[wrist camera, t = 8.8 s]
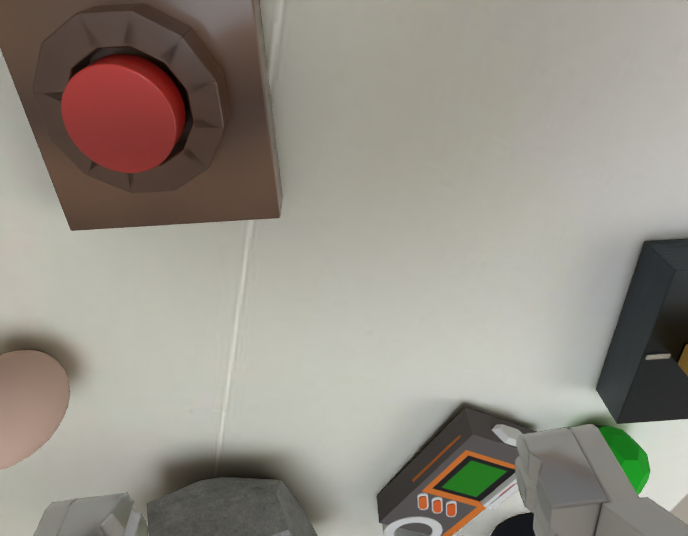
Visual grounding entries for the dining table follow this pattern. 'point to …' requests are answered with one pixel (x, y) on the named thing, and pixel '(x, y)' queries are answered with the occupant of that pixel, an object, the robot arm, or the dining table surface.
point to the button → (123, 113)
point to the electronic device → (453, 478)
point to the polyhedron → (628, 456)
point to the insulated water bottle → (516, 526)
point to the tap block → (650, 340)
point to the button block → (195, 88)
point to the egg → (29, 403)
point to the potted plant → (229, 510)
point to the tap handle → (684, 360)
